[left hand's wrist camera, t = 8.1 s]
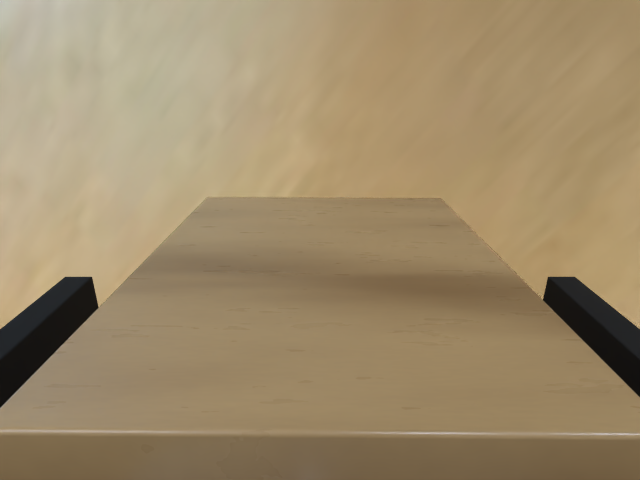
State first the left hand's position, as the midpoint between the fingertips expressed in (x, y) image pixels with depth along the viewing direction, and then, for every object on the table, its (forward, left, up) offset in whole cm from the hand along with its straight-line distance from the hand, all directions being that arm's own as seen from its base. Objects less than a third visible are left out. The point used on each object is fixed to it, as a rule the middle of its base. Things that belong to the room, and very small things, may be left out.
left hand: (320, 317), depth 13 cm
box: (+10, +6, -3) cm, 12 cm away
